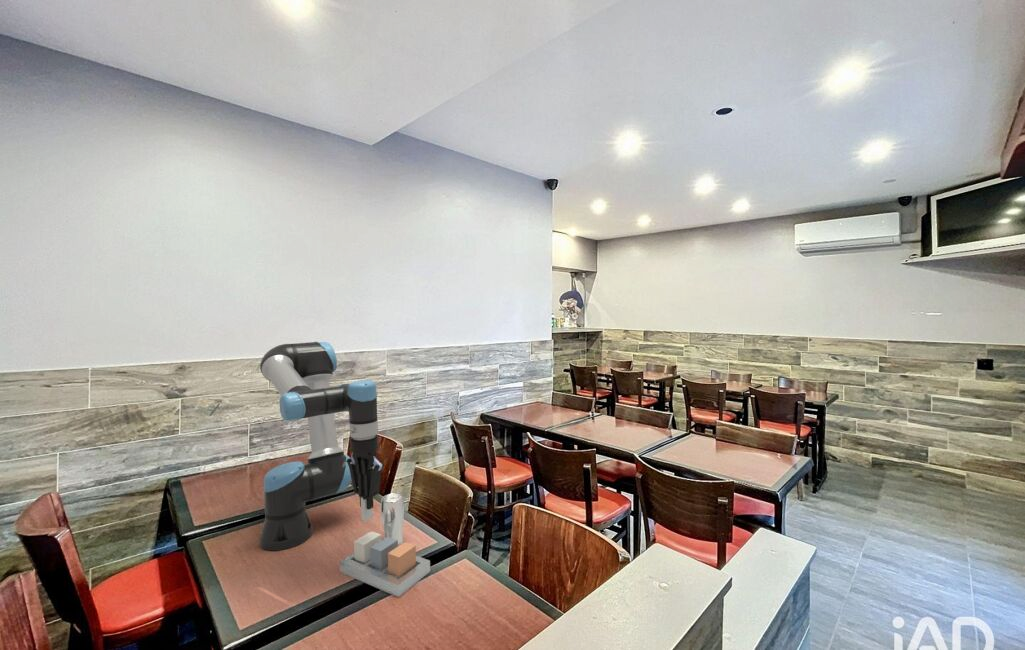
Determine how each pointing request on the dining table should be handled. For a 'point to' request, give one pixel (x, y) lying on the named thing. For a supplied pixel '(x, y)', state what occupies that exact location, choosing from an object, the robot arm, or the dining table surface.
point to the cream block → (365, 546)
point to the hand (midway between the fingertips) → (367, 519)
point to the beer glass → (393, 516)
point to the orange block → (401, 558)
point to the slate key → (382, 552)
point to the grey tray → (385, 574)
